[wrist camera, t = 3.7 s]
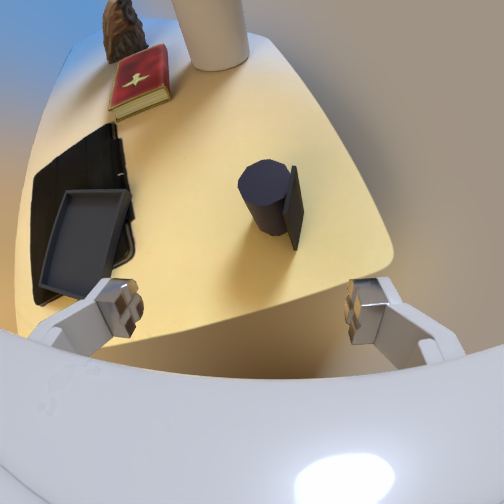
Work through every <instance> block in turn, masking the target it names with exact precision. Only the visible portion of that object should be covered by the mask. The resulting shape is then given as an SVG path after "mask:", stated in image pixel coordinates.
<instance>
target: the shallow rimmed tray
mask: <svg viewBox="0 0 504 504" xmlns="http://www.w3.org/2000/svg"><path fill="white" fill-rule="evenodd" d="M131 197H132V195H131V194H130V193H129V192H128V191H127V190H126V189H90V190H66V191H65V194H64V197H63V199H62V202H61V205H60V208H59V211H58V213H57V217H56V220H55V223H54V226H53V229H52V233H51V236H50V239H49V243H48V247H47V251H46V254H45V259H44V263H43V267H42V272H41V276H40V281H39V287H42V288H45V289H48V290H51V291H53V292H56V293H60V294H63V295H66V296H69V297H72V298H75V299H78V300H84V299H85V298H86V297H87V295H88V294H89V293H90V292H91V291H92V289H93V288H94V287H95V286H96V285H97V283H98V282H99V281H100V280H101V279H102V278H110V276H111V272H112V267H113V263H114V258H115V254H116V250H117V246H118V242H119V238H120V235H121V231H122V227H123V224H124V220H125V217H126V213H127V210H128V207H129V204H130V200H131Z"/></svg>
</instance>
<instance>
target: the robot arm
mask: <svg viewBox="0 0 504 504" xmlns="http://www.w3.org/2000/svg"><path fill="white" fill-rule="evenodd" d="M347 290H348V293H349V295H348V297H347V298H346V299H345V306H344V314H345V320H346V323H347V324H348V325H349V326H350V327H349V336H350V340H351V344H352V345H363V344H374V346H376V348H377V349H378V350H379V351H380V352H381V353H382V354H384V355H385V357H386V358H387V359H388V360H389V361H390V362H391V363H392V364H393V365H394V366H395V367H396V368H397V369H398V370H395V371H388V372H381V373H373V374H366V375H356V376H347V377H335V378H317V379H287V380H286V379H283V380H282V379H280V380H277V379H274V380H272V379H269V380H268V379H267V380H266V379H237V378H219V377H207V376H196V375H186V374H177V373H170V372H162V371H156V370H150V369H143V368H137V367H132V366H127V365H122V364H117V363H112V362H107V361H103V360H98V359H94V358H90V357H89V356H91V355H92V354H93V353H94V352H96V351H97V350H98V349H99V348H100V347H102V346H103V345H104V344H105V343H107V342H108V341H109V340H110V339H111V338H113V336H114V337H122V338H130V337H131V335H132V333H133V332H134V330H135V328H136V325H135V322H137V321H139V320H140V319H141V317H142V315H143V310H144V305H143V300H142V297H141V296H140V295H139V294H138V293H137V291H138V286H137V283H136V281H134V280H133V279H119V278H102V279H101V280H100V281H99V282H98V283H97V285H96V286H95V287H94V288H93V289H92V291H91V292H90V293H89V294H88V295H87V297H86V298H85V299H84V300H80V301H78V302H76V303H74V304H72V305H70V306H69V307H67V308H65V309H63V310H61V311H59V312H58V313H56V314H54V315H52V316H50V317H49V318H47V319H45V320H43V321H41V322H40V323H39V324H38V326H37V327H36V328H35V330H34V331H33V332H32V333H31V335H30V336H29V337H28V339H27V338H24V337H22V336H19V335H16V334H14V333H11V332H8V331H6V330H4V329H1V328H0V504H504V344H502V345H498V346H495V347H492V348H489V349H486V350H483V351H480V352H476V353H473V354H469V355H466V354H465V352H464V350H463V348H462V346H461V345H460V343H459V341H458V339H457V337H456V335H455V333H453V332H452V331H450V330H449V329H447V328H446V327H444V326H443V325H441V324H439V323H438V322H436V321H435V320H433V319H432V318H430V317H428V316H427V315H425V314H424V313H422V312H420V311H419V310H417V309H416V308H414V307H412V306H410V305H409V304H408V303H403V302H402V300H401V298H400V296H399V294H398V292H397V291H396V289H395V287H394V285H393V283H392V282H391V280H390V278H389V277H377V278H366V279H349V282H348V287H347Z"/></svg>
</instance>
